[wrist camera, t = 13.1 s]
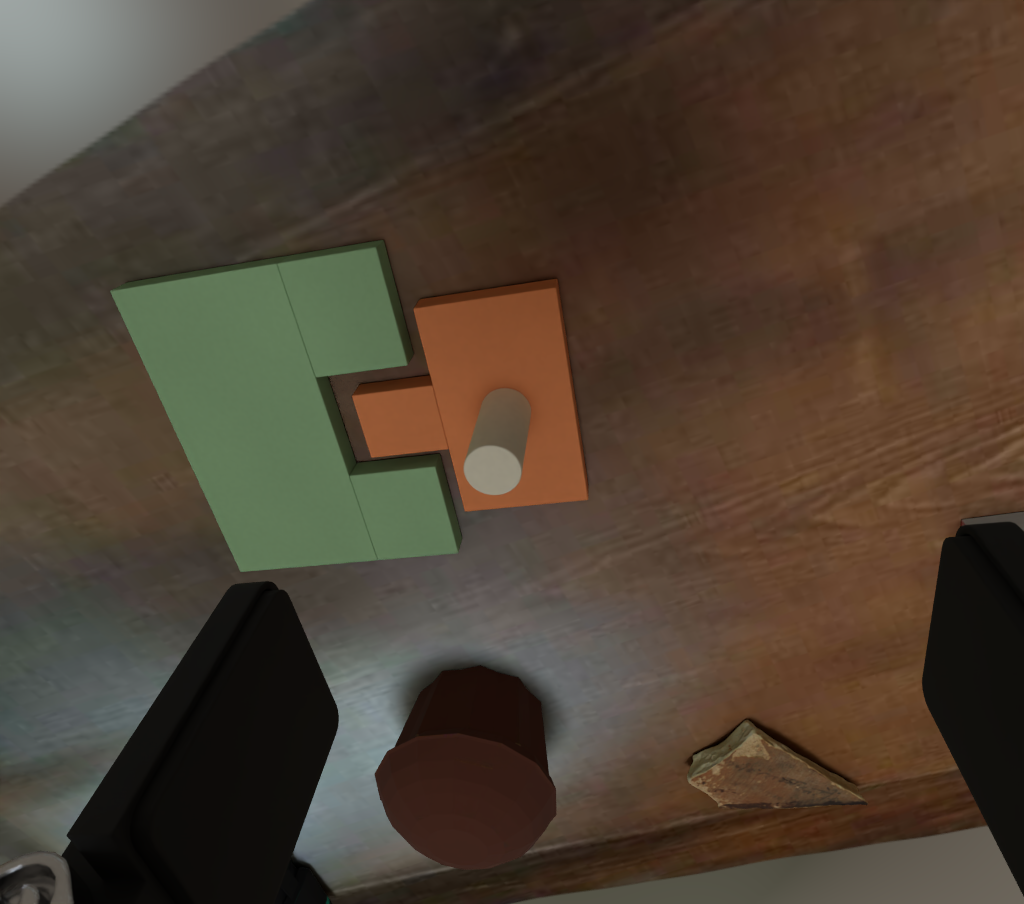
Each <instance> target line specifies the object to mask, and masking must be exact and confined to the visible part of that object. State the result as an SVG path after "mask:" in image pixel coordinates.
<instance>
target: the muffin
mask: <svg viewBox="0 0 1024 904" xmlns="http://www.w3.org/2000/svg"><path fill="white" fill-rule="evenodd" d="M375 778H376V782H377V787H378V791H379V796H380V800H381V801H382V803H383V806H384V809H385V812H386V815H387V817H388V819H389V821H390V823H391V824H392V826H393V827H394V828H395V830H396V831H397V832H398V833H399V834H400V835H401V836H402V837H403V838H404V839H405V840H406V841H407V842H408V843H409V844H410V845H411V846H412V847H413V848H414V849H415V850H417V851H418V852H420V853H421V854H423V855H425V856H426V857H428V858H430V859H432V860H434V861H436V862H438V863H440V864H442V865H446V866H450V867H454V868H459V869H486V868H492V867H495V866H498V865H501V864H503V863H506V862H509V861H511V860H514V859H516V858H519V857H521V856H523V855H524V854H525V853H526V852H527V851H528V850H529V849H530V848H531V847H532V846H533V845H534V843H535V842H536V841H537V840H538V838H539V837H540V836H541V835H542V833H543V832H544V831H545V829H546V828H547V826H548V825H549V823H550V822H551V821H552V819H553V818H554V817H555V816H556V788H555V786H554V784H553V781H552V779H551V777H550V776H549V771H548V762H547V753H546V744H545V735H544V726H543V717H542V708H541V702H540V701H539V700H538V699H537V698H536V697H535V696H534V695H533V694H531V693H530V692H529V691H528V690H527V688H526V687H525V686H524V684H523V683H522V682H521V680H520V679H519V678H518V677H514V676H510V675H506V674H502V673H498V672H496V671H493V670H491V669H488V668H486V667H483V666H481V665H480V666H475V667H471V668H467V669H462V670H448V671H442V672H441V673H440V675H439V676H438V677H437V678H436V679H435V681H434V682H433V683H431V684H430V685H429V686H427V687H426V688H425V689H423V690H422V691H421V692H420V694H419V696H418V698H417V701H416V703H415V705H414V707H413V709H412V711H411V713H410V715H409V718H408V720H407V722H406V724H405V726H404V728H403V730H402V732H401V734H400V737H399V739H398V741H397V743H396V745H395V747H394V748H393V749H391V750H389V751H387V753H386V755H385V756H384V758H383V760H382V762H381V764H380V765H379V767H378V769H377V771H376V773H375Z"/></svg>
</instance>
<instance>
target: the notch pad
mask: <svg viewBox="0 0 1024 904" xmlns="http://www.w3.org/2000/svg"><path fill="white" fill-rule="evenodd" d="M110 292H111V294H112V296H113V299H114V301H115V303H116V305H117V307H118V309H119V311H120V314H121V316H122V318H123V320H124V322H125V324H126V326H127V329H128V331H129V333H130V335H131V337H132V339H133V342H134V344H135V346H136V348H137V350H138V352H139V354H140V357H141V359H142V361H143V363H144V365H145V367H146V370H147V372H148V374H149V376H150V378H151V380H152V382H153V385H154V387H155V389H156V391H157V393H158V395H159V397H160V400H161V402H162V404H163V406H164V408H165V410H166V413H167V415H168V417H169V419H170V421H171V423H172V425H173V428H174V430H175V432H176V434H177V436H178V438H179V440H180V443H181V445H182V447H183V449H184V451H185V453H186V456H187V458H188V460H189V462H190V464H191V466H192V468H193V471H194V473H195V475H196V477H197V479H198V481H199V483H200V486H201V488H202V490H203V492H204V494H205V496H206V499H207V501H208V503H209V505H210V507H211V509H212V511H213V514H214V516H215V518H216V520H217V522H218V524H219V526H220V529H221V531H222V533H223V535H224V537H225V539H226V542H227V544H228V546H229V548H230V550H231V552H232V554H233V557H234V559H235V561H236V563H237V565H238V567H239V569H240V571H241V572H246V571H257V570H269V569H281V568H292V567H304V566H316V565H327V564H339V563H351V562H362V561H374V560H384V559H396V558H408V557H419V556H431V555H443V554H454V553H458V552H459V548H460V544H461V540H462V536H461V532H460V528H459V525H458V521H457V517H456V513H455V509H454V506H453V502H452V498H451V494H450V490H449V487H448V483H447V479H446V475H445V471H444V468H443V464H442V460H441V456H440V454H432V455H423V456H414V457H405V458H396V459H387V460H378V461H369V462H360V463H356V460H355V457H354V454H353V451H352V448H351V445H350V442H349V439H348V436H347V433H346V430H345V427H344V424H343V421H342V418H341V415H340V412H339V409H338V406H337V403H336V400H335V397H334V394H333V391H332V388H331V385H330V382H329V379H328V376H332V375H339V374H346V373H354V372H361V371H369V370H376V369H384V368H391V367H399V366H406V365H408V363H409V362H410V360H411V358H412V356H413V350H412V346H411V342H410V338H409V335H408V331H407V327H406V323H405V319H404V316H403V312H402V308H401V304H400V300H399V297H398V293H397V289H396V285H395V281H394V278H393V274H392V270H391V266H390V262H389V259H388V255H387V251H386V247H385V243H384V241H383V240H379V241H373V242H367V243H361V244H355V245H349V246H343V247H337V248H331V249H325V250H319V251H313V252H307V253H301V254H295V255H289V256H283V257H277V258H271V259H265V260H259V261H253V262H247V263H241V264H235V265H229V266H223V267H217V268H211V269H205V270H199V271H193V272H187V273H181V274H175V275H169V276H163V277H157V278H151V279H145V280H139V281H133V282H127V283H125V284H123V285H121V286H119V287H117V288H115V289H113V290H111V291H110Z"/></svg>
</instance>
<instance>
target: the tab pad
mask: <svg viewBox="0 0 1024 904" xmlns="http://www.w3.org/2000/svg"><path fill="white" fill-rule="evenodd" d="M413 310H414V314H415V318H416V322H417V326H418V330H419V334H420V337H421V341H422V345H423V349H424V353H425V357H426V361H427V365H428V369H429V373H430V375H427V376H420V377H412V378H404V379H397V380H389V381H381V382H374V383H366V384H360V385H359V386H358V388H357V389H356V391H355V392H354V394H353V395H352V398H353V401H354V404H355V407H356V411H357V414H358V417H359V420H360V423H361V426H362V429H363V432H364V436H365V439H366V442H367V445H368V448H369V451H370V454H371V457H372V458H373V457H382V456H391V455H400V454H409V453H418V452H427V451H436V450H445V449H449V451H450V455H451V459H452V463H453V467H454V471H455V475H456V478H457V482H458V486H459V490H460V494H461V498H462V502H463V506H464V510H465V511H476V510H487V509H497V508H508V507H518V506H528V505H539V504H549V503H560V502H570V501H580V500H588V480H587V473H586V466H585V459H584V453H583V446H582V439H581V433H580V426H579V419H578V413H577V406H576V399H575V393H574V386H573V379H572V372H571V366H570V359H569V352H568V346H567V339H566V332H565V326H564V319H563V312H562V306H561V299H560V292H559V285H558V280H557V279H551V280H544V281H538V282H531V283H524V284H518V285H511V286H504V287H498V288H491V289H484V290H478V291H471V292H464V293H458V294H451V295H445V296H438V297H431V298H425V299H420V300H419V301H418V303H417V304H416V306H415V307H414V309H413Z"/></svg>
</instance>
